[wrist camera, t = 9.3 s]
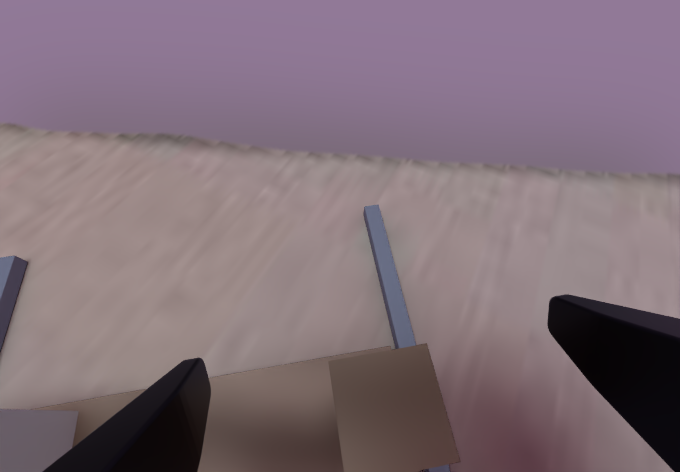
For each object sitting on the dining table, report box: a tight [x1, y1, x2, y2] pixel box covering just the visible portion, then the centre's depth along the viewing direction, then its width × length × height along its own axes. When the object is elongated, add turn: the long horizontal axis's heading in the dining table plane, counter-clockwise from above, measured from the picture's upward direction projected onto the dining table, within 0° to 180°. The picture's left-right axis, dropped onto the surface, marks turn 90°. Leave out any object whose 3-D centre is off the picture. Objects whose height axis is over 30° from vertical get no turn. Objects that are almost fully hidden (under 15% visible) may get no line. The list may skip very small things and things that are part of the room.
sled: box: [31, 344, 460, 472], centre depth 13 cm, size 6×22×10 cm, turn 99°
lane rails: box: [0, 205, 450, 472], centre depth 19 cm, size 17×25×1 cm
